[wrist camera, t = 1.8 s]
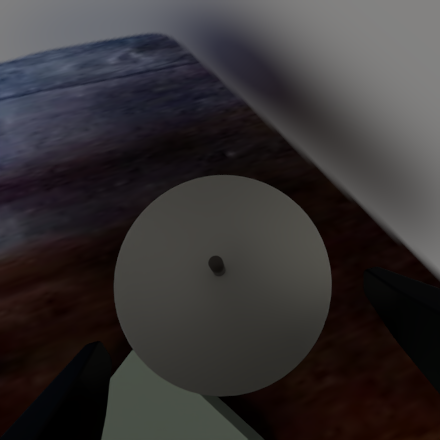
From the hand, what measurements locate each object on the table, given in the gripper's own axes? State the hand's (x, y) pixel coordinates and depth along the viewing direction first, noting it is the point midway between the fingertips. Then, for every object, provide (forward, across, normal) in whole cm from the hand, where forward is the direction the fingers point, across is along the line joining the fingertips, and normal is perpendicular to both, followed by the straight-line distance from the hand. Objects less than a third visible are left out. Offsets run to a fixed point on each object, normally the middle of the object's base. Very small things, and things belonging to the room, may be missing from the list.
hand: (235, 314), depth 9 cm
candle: (+7, 0, +6) cm, 9 cm away
